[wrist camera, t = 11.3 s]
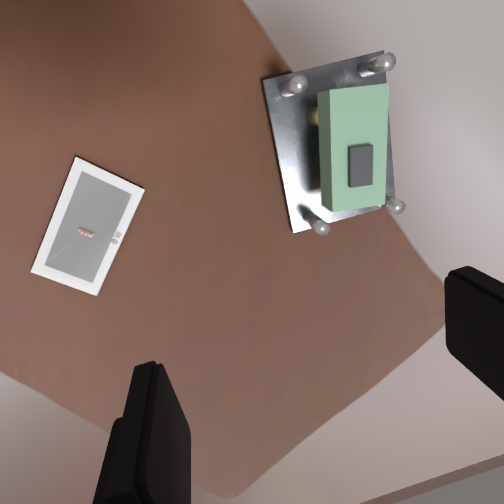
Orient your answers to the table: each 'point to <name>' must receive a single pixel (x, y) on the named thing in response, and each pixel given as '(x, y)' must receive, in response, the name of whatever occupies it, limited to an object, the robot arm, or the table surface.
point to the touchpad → (87, 227)
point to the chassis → (307, 135)
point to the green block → (353, 146)
